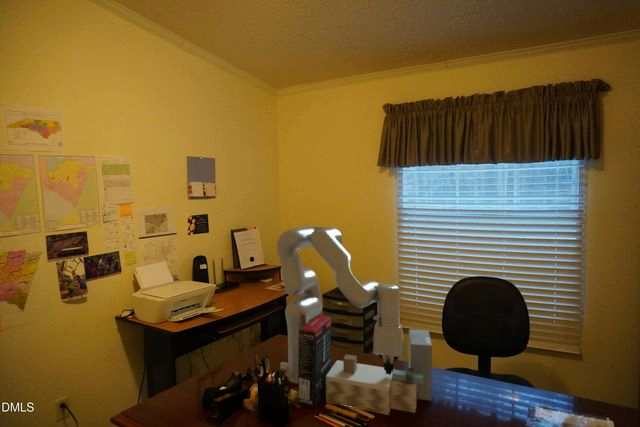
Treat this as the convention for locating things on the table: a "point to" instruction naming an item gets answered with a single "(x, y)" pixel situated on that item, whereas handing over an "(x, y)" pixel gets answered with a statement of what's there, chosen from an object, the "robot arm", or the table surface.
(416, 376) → the teal rectangular block
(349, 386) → the toolbox
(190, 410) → the table surface
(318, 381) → the graphics card box
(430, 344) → the hard drive box
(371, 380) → the toolbox lid
